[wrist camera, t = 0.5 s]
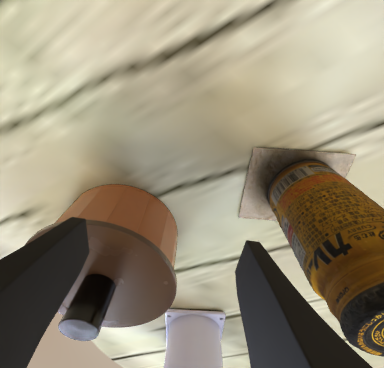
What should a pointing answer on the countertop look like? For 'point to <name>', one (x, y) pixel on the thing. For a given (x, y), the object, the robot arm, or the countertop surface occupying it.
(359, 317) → the condiment
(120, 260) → the pot lid
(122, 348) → the countertop surface
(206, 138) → the countertop surface
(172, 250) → the terracotta bowl
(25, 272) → the robot arm
